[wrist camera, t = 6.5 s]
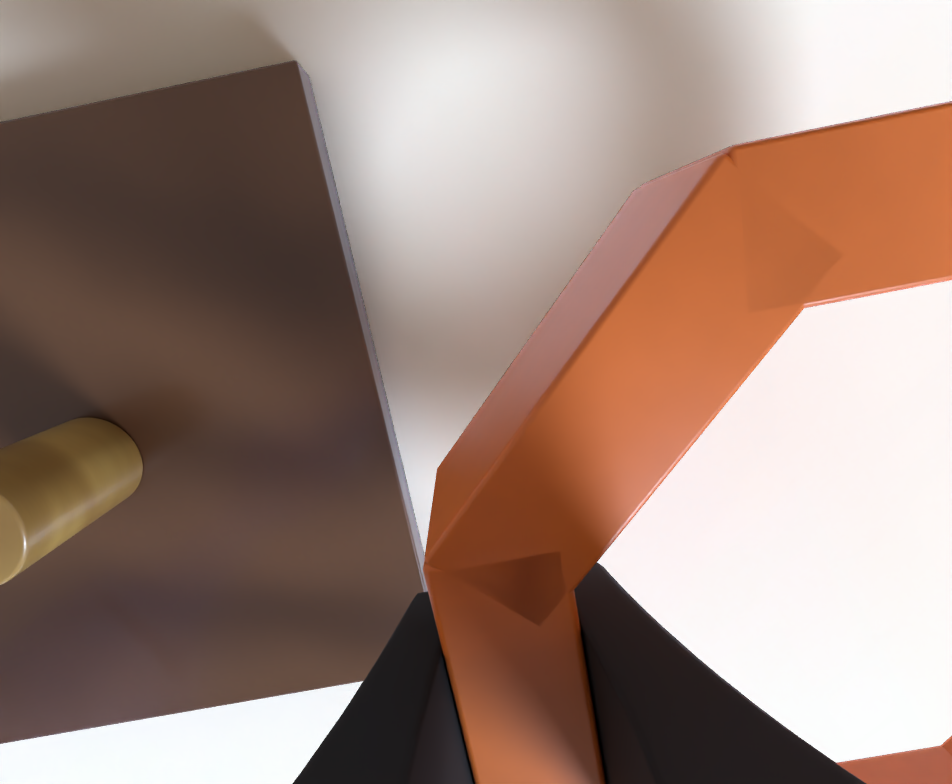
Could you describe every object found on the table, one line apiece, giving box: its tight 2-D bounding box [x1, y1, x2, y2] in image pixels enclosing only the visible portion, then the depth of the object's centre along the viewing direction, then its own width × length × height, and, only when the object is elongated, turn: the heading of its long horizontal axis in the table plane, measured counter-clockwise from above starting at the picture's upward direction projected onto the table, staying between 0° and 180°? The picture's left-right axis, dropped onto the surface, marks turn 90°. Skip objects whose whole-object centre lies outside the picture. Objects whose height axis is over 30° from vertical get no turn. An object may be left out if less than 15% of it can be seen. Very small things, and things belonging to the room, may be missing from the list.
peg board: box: [0, 61, 428, 744], centre depth 12 cm, size 16×15×5 cm
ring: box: [423, 101, 952, 784], centre depth 7 cm, size 12×12×3 cm
